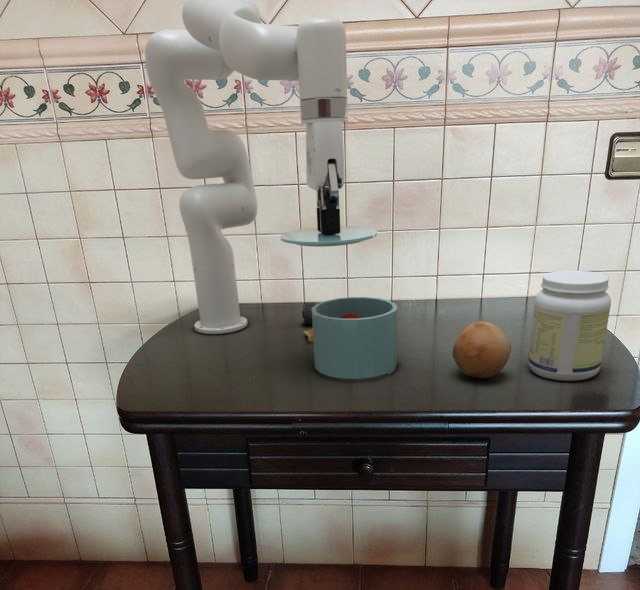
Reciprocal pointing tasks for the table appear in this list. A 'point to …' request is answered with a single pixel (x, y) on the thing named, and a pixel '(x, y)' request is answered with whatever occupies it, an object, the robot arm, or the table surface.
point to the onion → (481, 350)
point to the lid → (318, 239)
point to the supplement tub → (569, 325)
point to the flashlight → (308, 312)
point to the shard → (309, 334)
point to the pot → (355, 337)
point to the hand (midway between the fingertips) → (328, 231)
